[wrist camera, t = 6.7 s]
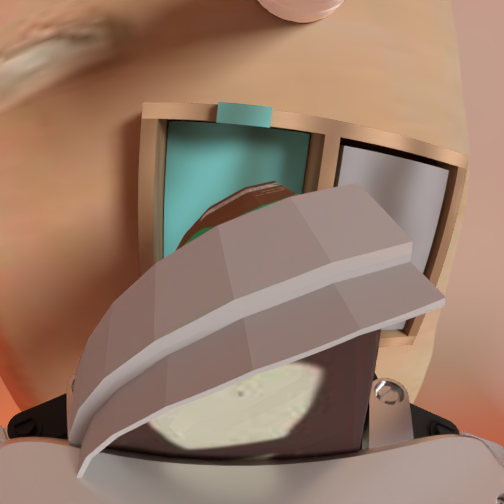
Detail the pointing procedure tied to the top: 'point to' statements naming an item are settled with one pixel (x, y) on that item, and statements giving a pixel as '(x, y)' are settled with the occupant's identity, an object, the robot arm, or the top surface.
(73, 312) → the top surface
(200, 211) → the compartment tray
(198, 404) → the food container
